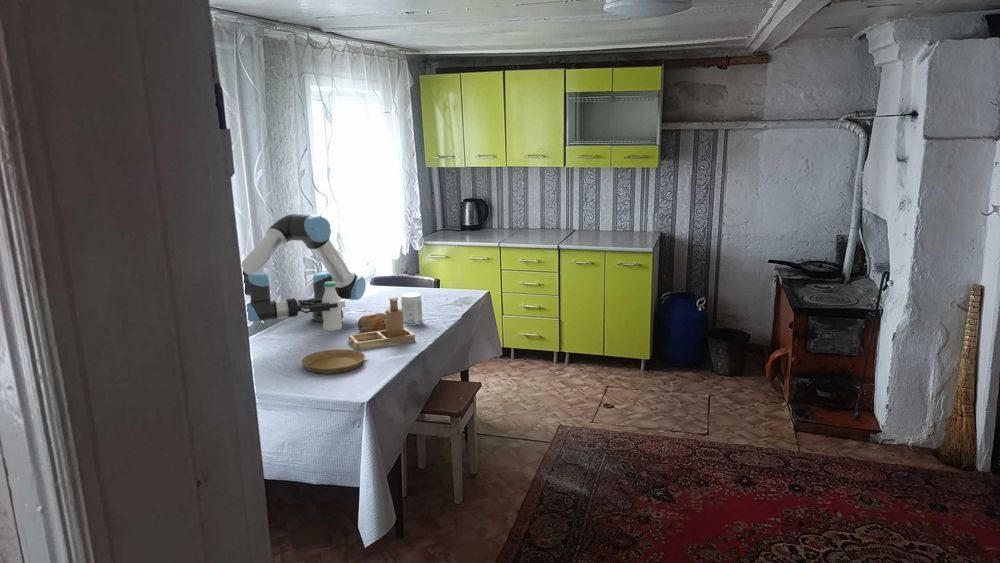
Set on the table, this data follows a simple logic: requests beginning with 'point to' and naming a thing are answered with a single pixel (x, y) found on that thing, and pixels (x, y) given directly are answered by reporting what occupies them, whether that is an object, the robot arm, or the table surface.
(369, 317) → the tin
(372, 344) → the divided wooden tray
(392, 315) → the brown bottle
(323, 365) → the plant saucer
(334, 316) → the milk bottle
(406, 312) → the supplement tub
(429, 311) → the table surface
